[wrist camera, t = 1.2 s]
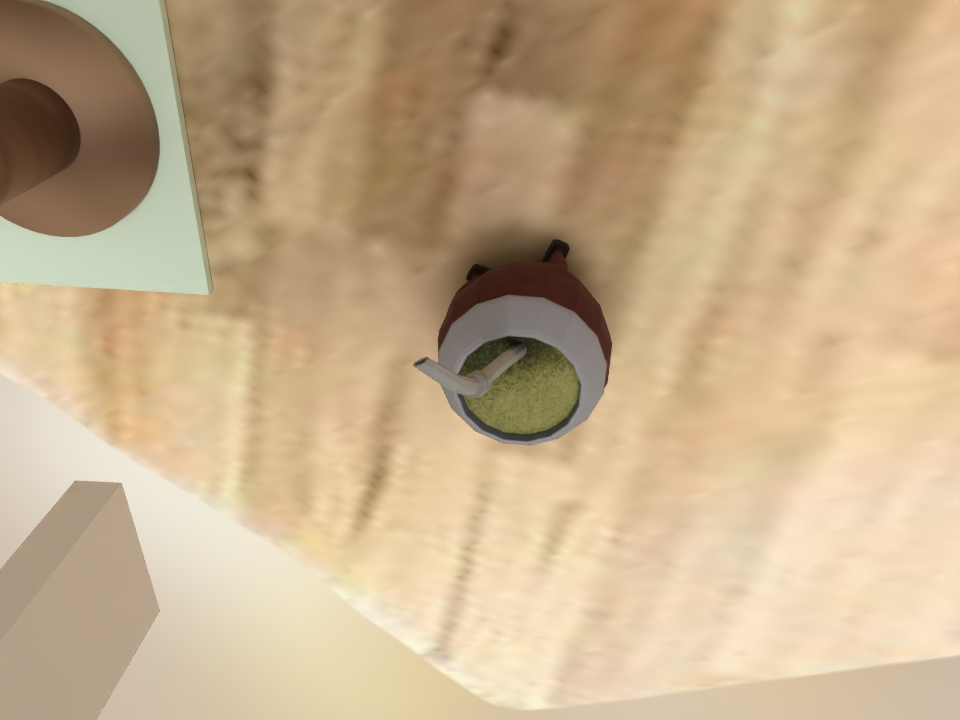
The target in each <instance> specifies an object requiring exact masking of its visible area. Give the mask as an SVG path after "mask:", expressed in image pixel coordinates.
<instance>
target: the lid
mask: <svg viewBox="0 0 960 720" xmlns="http://www.w3.org/2000/svg"><path fill="white" fill-rule="evenodd" d="M159 156H160V138H159V130H158V124H157V119H156V115H155V111H154V108H153V105H152V103H151V100H150V97H149V95H148V93H147V91H146V89H145V87H144V84H143V82H142V80H141V79H140V77H139V75H138V74H137V72H136V71H135V69H134V68H133V66H132V64H131V63H130V62H129V61H128V59H127V58H126V57H125V56H124V54H123V53H122V52H121V50H120V49H119V48H118V47H117V46H116V45H115V44H114V43H113V42H112V41H111V40H110V39H109V38H108V37H107V36H106V35H104V34H103V33H102V32H101V31H100V30H99V29H97V28H96V27H95V26H94V25H92V24H91V23H89V22H88V21H86V20H85V19H83V18H82V17H80V16H79V15H77V14H75V13H73V12H71V11H69V10H67V9H65V8H63V7H61V6H58V5H55V4H53V3H50V2H47V1H43V0H0V216H1V217H3V218H4V219H6V220H8V221H10V222H12V223H14V224H16V225H18V226H20V227H23V228H25V229H28V230H31V231H34V232H37V233H41V234H45V235H50V236H58V237H80V236H87V235H91V234H95V233H98V232H101V231H103V230H105V229H107V228H109V227H112V226H113V225H115V224H116V223H117V222H119V221H120V220H122V219H123V218H124V217H126V216H127V215H128V214H130V213H131V212H132V211H133V210H134V209H135V208H136V207H137V206H138V205H139V204H140V203H141V202H142V201H143V199H144V198H145V197H146V195H147V194H148V192H149V190H150V188H151V186H152V184H153V182H154V179H155V176H156V172H157V169H158V163H159Z"/></svg>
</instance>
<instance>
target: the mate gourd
mask: <svg viewBox="0 0 960 720" xmlns="http://www.w3.org/2000/svg"><path fill="white" fill-rule="evenodd" d="M568 252H569V246H568V244H567V243H565V242H562V241H560V240H554V241H553V242H552V244H551V245H550V247H549V249H548V250H547V252H546V254H545V256H544V258H543V260H542V262H516V263H512V264H509V265H506V266H503V267H499V268H496V269H493V270H490V269H488V268H486V267H483V266H481V265H478V264H475V265H473V267H472V268H471V269H470V271H469V273H468V275H467V280H468V281H469V282H467V283H466V284H465V285H463V286H462V287H461V288H460V289H459V290H458V291H457V293H456V295H455V296H454V298H453V300H452V302H451V304H450V307H449V309H448V312H447V315H446V317H445V320H444V322H443V324H442V326H441V328H440V330H439V337H438V360H439V363H437V362H435V361H433V360H431V359H430V358H428V357H425V358H422V359H420V360H418V361H416V362H415V363H414V365H413V366H414V367H416V368H417V369H419V370H420V371H422V372H423V373H425V374H426V375H428V376H429V377H431V378H432V379H434V380H435V381H437V382H438V383H440V385H441V387H442V389H443V391H444V393H445V395H446V398H447V400H448V402H449V404H450V406H451V408H452V409H453V410H454V411H455V412H456V413H457V414H458V415H459V416H460V417H461V418H462V419H463V420H464V421H465V422H466V423H467V424H468V425H469V426H471V427H472V428H473V429H474V430H475V431H476V432H478V433H481V434H483V435H485V436H488V437H490V438H492V439H495V440H497V441H499V442H501V443H508V444H519V445H534V444H538V443H542V442H546V441H550V440H554V439H558V438H560V437H562V436H563V435H565V434H566V433H567V432H569V431H570V430H572V429H573V428H575V427H576V426H578V425H579V424H581V423H582V422H584V421H585V420H587V418H588V417H589V415H590V414H591V412H592V411H593V409H594V408H595V406H596V404H597V403H598V401H599V400H600V398H601V397H602V395H603V393H604V388H605V386H606V384H607V382H608V375H609V366H610V357H611V347H612V342H611V338H610V334H609V331H608V328H607V325H606V322H605V319H604V316H603V313H602V310H601V307H600V305H599V304H598V302H597V301H596V300H595V298H594V297H593V296H592V295H591V294H590V292H589V291H588V290H587V289H586V288H585V286H584V285H583V284H582V283H581V282H580V281H579V279H577V278H576V277H575V276H574V275H573V274H571V273H570V272H569V271H568V267H567V263H566V261H565V259H566V256H567V254H568Z"/></svg>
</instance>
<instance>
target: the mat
mask: <svg viewBox="0 0 960 720" xmlns="http://www.w3.org/2000/svg"><path fill="white" fill-rule="evenodd" d="M43 1H47V2H50V3H53V4H55V5H58V6H61V7H63V8H65V9H67V10H69V11H71V12H73V13H75V14H77V15H79V16H80V17H82V18H83V19H85V20H86V21H88V22H89V23H91V24H92V25H94V26H95V27H96V28H97V29H99V30H100V31H101V32H102V33H103V34H104V35H106V36H107V37H108V38H109V39H110V40H111V41H112V42H113V43H114V44H115V45H116V46H117V47H118V48H119V49H120V50H121V52H122V53H123V54H124V56H125V57H126V58H127V59H128V61H129V62H130V63H131V64H132V66H133V68H134V69H135V71H136V72H137V74H138V75H139V77H140V79H141V80H142V82H143V84H144V87H145V89H146V91H147V93H148V95H149V97H150V100H151V103H152V105H153V108H154V111H155V115H156V119H157V124H158V130H159V138H160V156H159V163H158V169H157V172H156V176H155V179H154V182H153V184H152V186H151V188H150V190H149V192H148V194H147V195H146V197H145V198H144V199H143V201H142V202H141V203H140V204H139V205H138V206H137V207H136V208H135V209H134V210H133V211H132V212H131V213H130V214H128V215H127V216H126V217H124V218H123V219H122V220H120V221H119V222H117V223H116V224H115V225H113V226H112V227H109V228H107V229H105V230H103V231H101V232H98V233H95V234H91V235H87V236H80V237H58V236H50V235H45V234H41V233H37V232H34V231H31V230H28V229H25V228H23V227H20V226H18V225H16V224H14V223H12V222H10V221H8V220H6V219H4V218H3V217H1V216H0V282H11V283H27V284H42V285H58V286H74V287H90V288H106V289H122V290H138V291H154V292H170V293H186V294H202V295H209V294H210V293H211V292H212V291H213V287H212V281H211V275H210V269H209V263H208V257H207V251H206V245H205V239H204V233H203V227H202V221H201V215H200V209H199V203H198V197H197V191H196V185H195V179H194V173H193V167H192V161H191V155H190V149H189V143H188V137H187V131H186V125H185V119H184V113H183V107H182V101H181V95H180V89H179V83H178V77H177V71H176V65H175V59H174V53H173V47H172V41H171V35H170V29H169V23H168V17H167V11H166V5H165V0H43Z"/></svg>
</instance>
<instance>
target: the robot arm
mask: <svg viewBox="0 0 960 720" xmlns="http://www.w3.org/2000/svg"><path fill="white" fill-rule="evenodd" d="M159 611H160V610H159V607H158V603H157V600H156V597H155V593H154V590H153V586H152V583H151V580H150V576H149V573H148V570H147V566H146V563H145V560H144V556H143V553H142V550H141V546H140V543H139V540H138V536H137V533H136V530H135V526H134V523H133V519H132V516H131V513H130V509H129V507H128V503H127V500H126V496H125V493H124V489H123V486H122V483H110V482H92V481H74V483H73V484H72V485H71V486H70V487H69V489H68V490H67V491H66V492H65V493H64V495H63V496H62V497H61V498H60V499H59V500H58V502H57V503H56V504H55V505H54V506H53V508H52V509H51V510H50V511H49V512H48V514H47V515H46V516H45V517H44V518H43V519H42V521H41V522H40V523H39V524H38V525H37V526H36V528H35V529H34V530H33V531H32V532H31V534H30V535H29V536H28V537H27V538H26V540H25V541H24V542H23V543H22V544H21V546H20V547H19V548H18V549H17V550H16V552H15V553H14V554H13V555H12V556H11V557H10V559H9V560H8V561H7V562H6V563H5V565H4V566H3V567H2V568H1V569H0V720H97V718H98V716H99V714H100V713H101V711H102V709H103V708H104V706H105V704H106V702H107V701H108V699H109V697H110V696H111V694H112V692H113V690H114V688H115V687H116V685H117V684H118V682H119V680H120V678H121V677H122V675H123V673H124V672H125V670H126V668H127V666H128V665H129V663H130V661H131V659H132V658H133V656H134V654H135V653H136V651H137V649H138V647H139V646H140V644H141V642H142V641H143V639H144V637H145V635H146V634H147V632H148V630H149V629H150V627H151V625H152V623H153V622H154V620H155V618H156V616H157V615H158V613H159Z"/></svg>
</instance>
